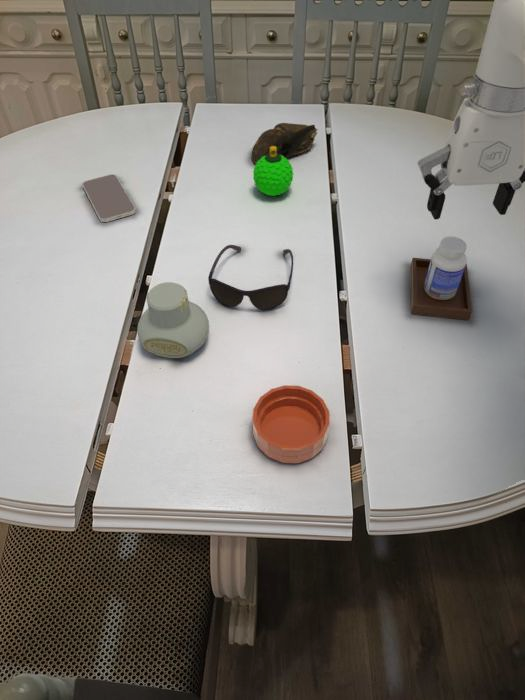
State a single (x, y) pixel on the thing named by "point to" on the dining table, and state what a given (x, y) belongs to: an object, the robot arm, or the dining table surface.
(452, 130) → the robot arm
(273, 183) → the ornament
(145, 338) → the air freshener
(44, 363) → the dining table surface
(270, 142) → the brown curved chunk
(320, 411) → the bowl
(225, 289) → the sunglasses
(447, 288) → the pill bottle
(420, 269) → the tray
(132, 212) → the smartphone
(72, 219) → the dining table surface
